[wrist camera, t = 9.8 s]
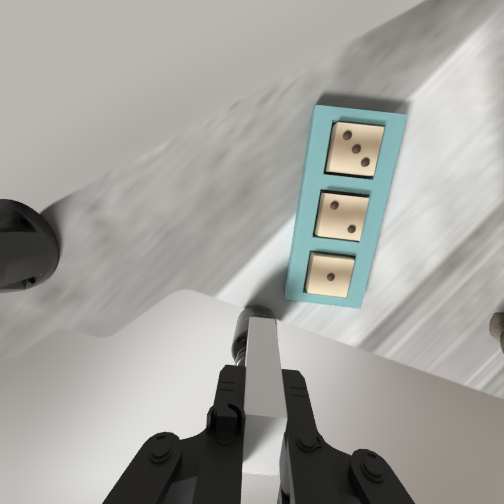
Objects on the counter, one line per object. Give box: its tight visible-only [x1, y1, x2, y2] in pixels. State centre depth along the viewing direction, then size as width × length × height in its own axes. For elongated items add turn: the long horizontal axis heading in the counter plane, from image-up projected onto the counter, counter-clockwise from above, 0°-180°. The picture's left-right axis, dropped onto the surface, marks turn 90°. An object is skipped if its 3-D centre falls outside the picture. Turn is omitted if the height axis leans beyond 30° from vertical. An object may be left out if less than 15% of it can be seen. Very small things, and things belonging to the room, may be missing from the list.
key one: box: [305, 251, 355, 298], centre depth 39 cm, size 6×6×3 cm
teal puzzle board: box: [284, 105, 407, 309], centre depth 38 cm, size 28×12×2 cm, turn 174°
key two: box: [315, 193, 369, 241], centre depth 37 cm, size 6×6×3 cm
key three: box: [325, 122, 384, 176], centre depth 35 cm, size 6×6×3 cm
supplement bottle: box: [232, 306, 278, 366], centre depth 39 cm, size 7×7×12 cm
